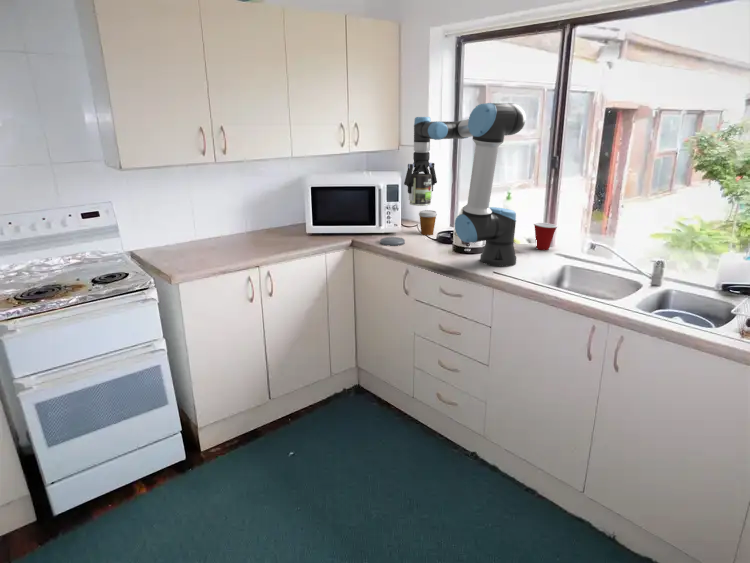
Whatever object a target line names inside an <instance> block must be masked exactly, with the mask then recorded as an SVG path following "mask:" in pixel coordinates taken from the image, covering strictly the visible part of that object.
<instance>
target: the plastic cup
mask: <svg viewBox="0 0 750 563" xmlns="http://www.w3.org/2000/svg"><path fill="white" fill-rule="evenodd" d="M533 225H534V231H535V232H534V233H535V234H534V237H535V238H536V239H535V238H534V239H535V241H536V240H537V246H536V245H535V247H536V248H537V249H536V248H535V249H536V250H539V251H548V250H549V249H550V247H551V244H552V241H553V238H554V234H555V232H556V229H557V228H558V225H557V224H554V223H553V224H552V223H549V222H548V223H547V222H533Z"/></svg>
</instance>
